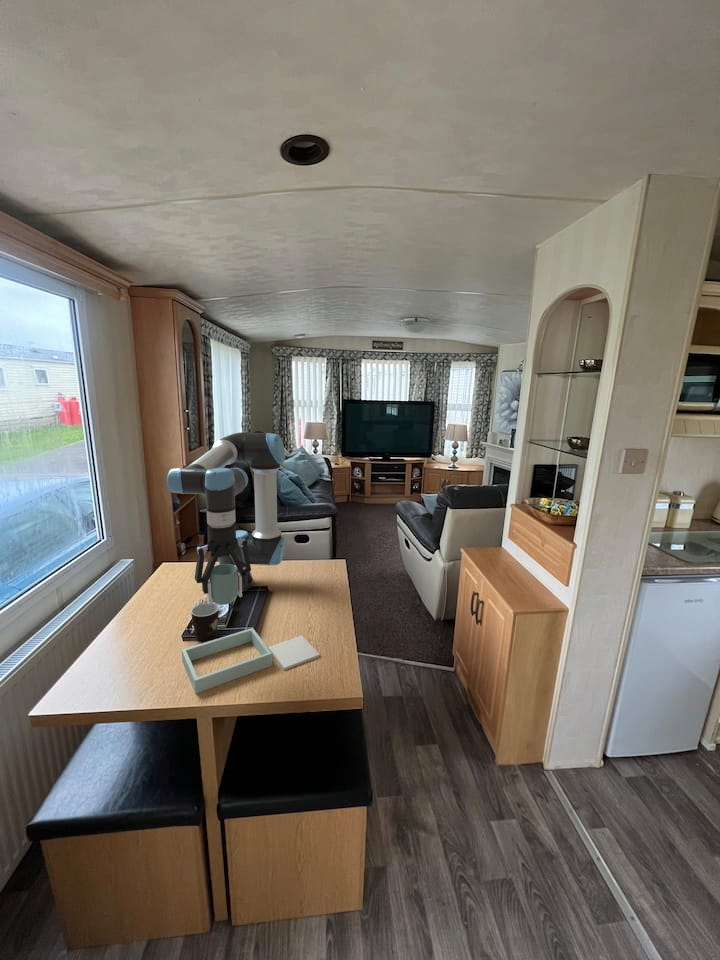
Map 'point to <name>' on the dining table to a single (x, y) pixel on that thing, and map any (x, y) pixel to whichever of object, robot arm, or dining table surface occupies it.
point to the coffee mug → (205, 621)
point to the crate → (230, 671)
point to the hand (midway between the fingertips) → (224, 598)
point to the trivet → (293, 652)
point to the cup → (224, 583)
